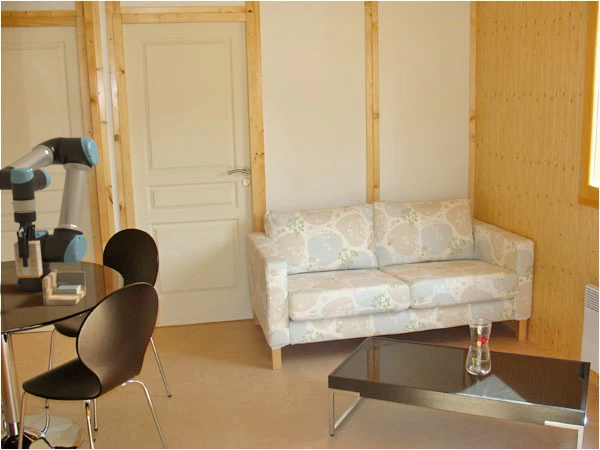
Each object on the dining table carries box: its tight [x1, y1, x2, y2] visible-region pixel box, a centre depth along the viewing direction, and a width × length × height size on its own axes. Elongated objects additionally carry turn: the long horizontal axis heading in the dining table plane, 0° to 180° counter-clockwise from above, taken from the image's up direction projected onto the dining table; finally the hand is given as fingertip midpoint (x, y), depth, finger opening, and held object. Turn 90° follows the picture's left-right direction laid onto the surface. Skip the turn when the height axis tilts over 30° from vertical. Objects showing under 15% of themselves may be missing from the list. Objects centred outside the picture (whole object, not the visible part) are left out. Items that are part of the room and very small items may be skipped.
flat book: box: [57, 285, 81, 294], centre depth 275 cm, size 6×8×2 cm
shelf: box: [42, 269, 87, 306], centre depth 272 cm, size 16×12×10 cm
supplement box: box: [13, 240, 43, 279], centre depth 256 cm, size 8×5×13 cm, turn 92°
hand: (29, 272), depth 257 cm, fingers closed on supplement box, 5 cm apart
